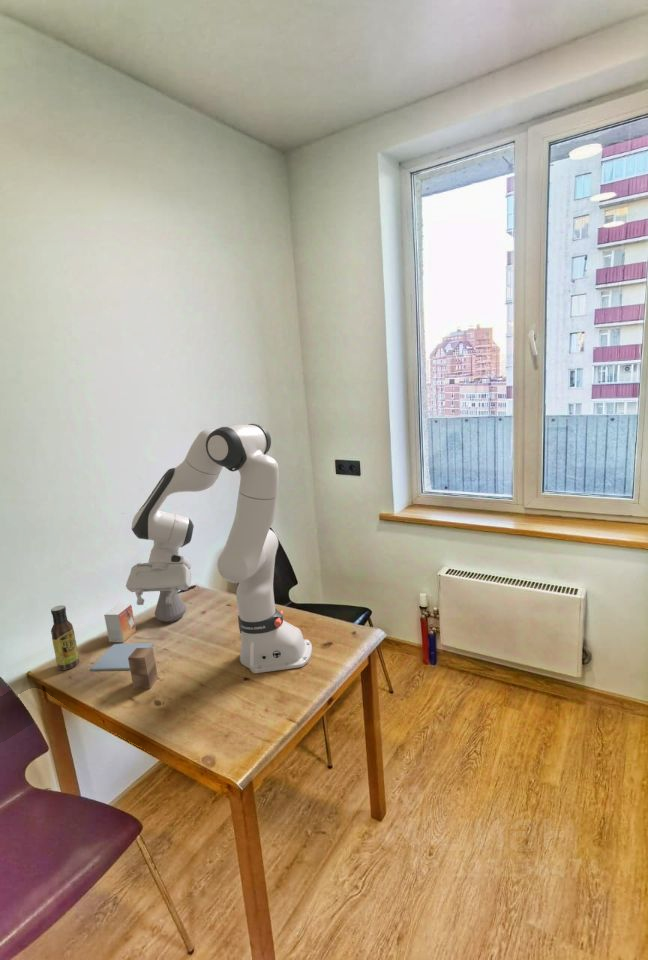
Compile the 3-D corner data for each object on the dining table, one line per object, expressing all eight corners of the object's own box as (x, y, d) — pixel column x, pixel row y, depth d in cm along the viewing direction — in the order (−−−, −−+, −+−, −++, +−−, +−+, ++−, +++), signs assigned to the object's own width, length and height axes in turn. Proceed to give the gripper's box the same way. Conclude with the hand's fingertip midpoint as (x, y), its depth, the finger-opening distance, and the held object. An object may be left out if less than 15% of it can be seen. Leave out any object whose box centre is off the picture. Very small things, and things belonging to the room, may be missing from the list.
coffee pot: (149, 622, 175) (142, 584, 172) (172, 608, 185) (166, 572, 182) (191, 632, 165) (185, 592, 162) (213, 616, 175) (208, 579, 172)
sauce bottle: (68, 672, 147) (55, 614, 143) (53, 670, 149) (40, 612, 145) (84, 660, 153) (72, 604, 149) (70, 658, 155) (58, 602, 151)
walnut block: (158, 678, 140) (152, 647, 138) (150, 688, 135) (144, 657, 133) (142, 678, 140) (136, 648, 138) (133, 689, 136) (127, 657, 134)
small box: (123, 642, 162) (117, 614, 160) (109, 642, 163) (103, 614, 161) (136, 630, 170) (131, 603, 168) (123, 630, 171) (117, 603, 169)
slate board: (152, 644, 159) (152, 643, 159) (132, 669, 145) (131, 667, 145) (114, 645, 161) (113, 644, 161) (90, 670, 147) (89, 668, 147)
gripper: (128, 559, 152) (117, 601, 144) (188, 556, 149) (181, 599, 142) (137, 567, 157) (127, 608, 149) (196, 564, 155) (189, 606, 147)
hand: (154, 604), depth 146 cm, fingers open, 8 cm apart
